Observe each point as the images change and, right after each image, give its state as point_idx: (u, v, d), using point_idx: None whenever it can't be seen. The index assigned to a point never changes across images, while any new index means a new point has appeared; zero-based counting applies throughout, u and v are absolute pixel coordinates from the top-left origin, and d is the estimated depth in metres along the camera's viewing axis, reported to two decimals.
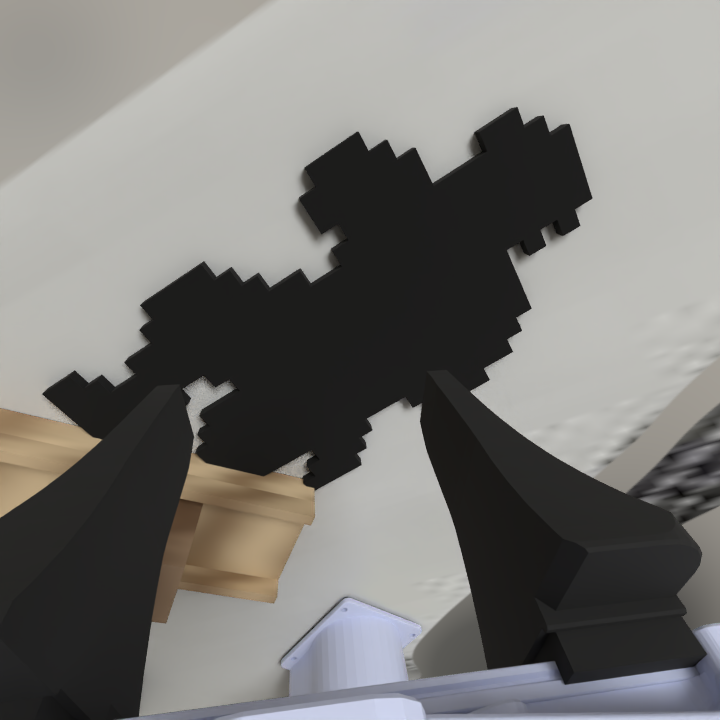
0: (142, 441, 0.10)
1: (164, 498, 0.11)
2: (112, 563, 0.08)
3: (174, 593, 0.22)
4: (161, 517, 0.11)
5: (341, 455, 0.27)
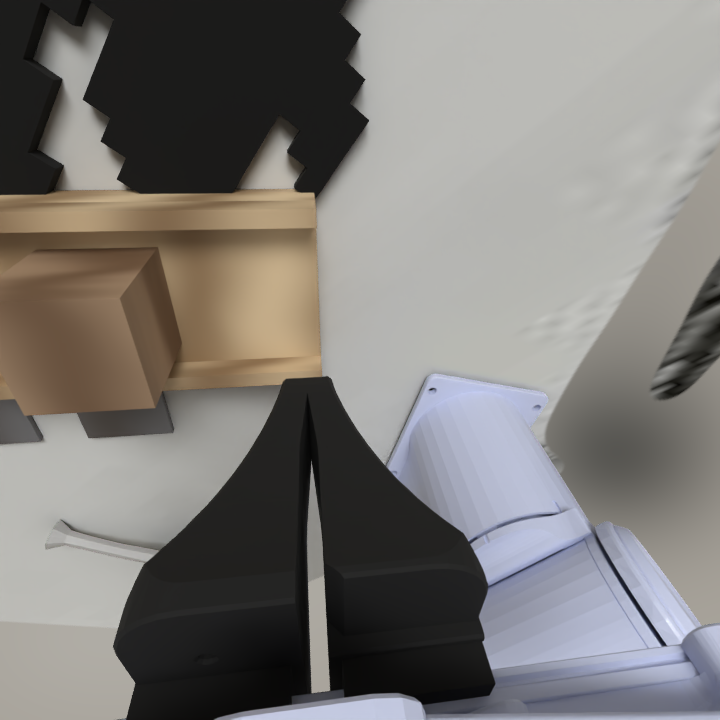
0: (302, 430, 0.10)
1: (306, 486, 0.11)
2: (302, 545, 0.08)
3: (134, 352, 0.15)
4: (306, 504, 0.11)
5: (330, 110, 0.16)
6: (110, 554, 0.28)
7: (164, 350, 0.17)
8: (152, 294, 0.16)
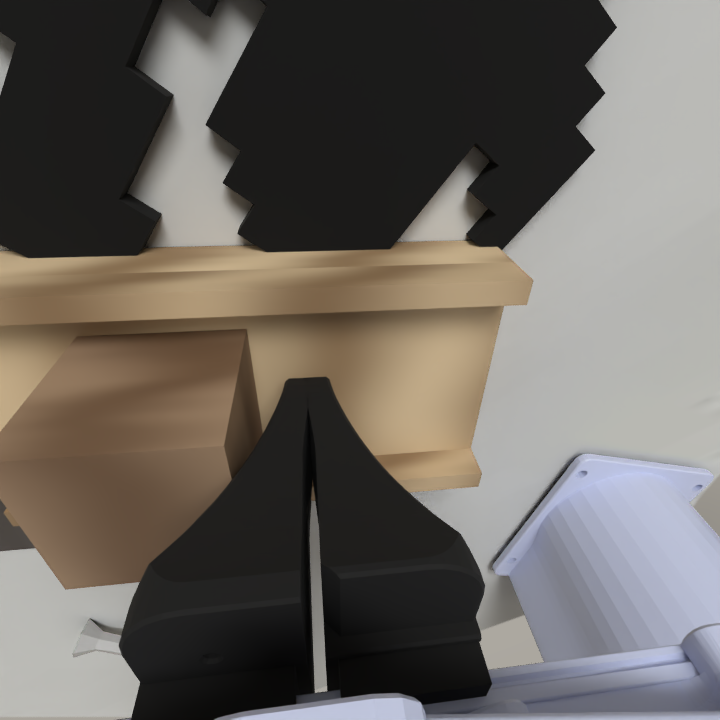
0: (305, 430, 0.10)
1: (309, 486, 0.11)
2: (306, 544, 0.08)
3: None
4: (308, 504, 0.11)
5: (546, 136, 0.11)
6: None
7: None
8: (245, 403, 0.11)
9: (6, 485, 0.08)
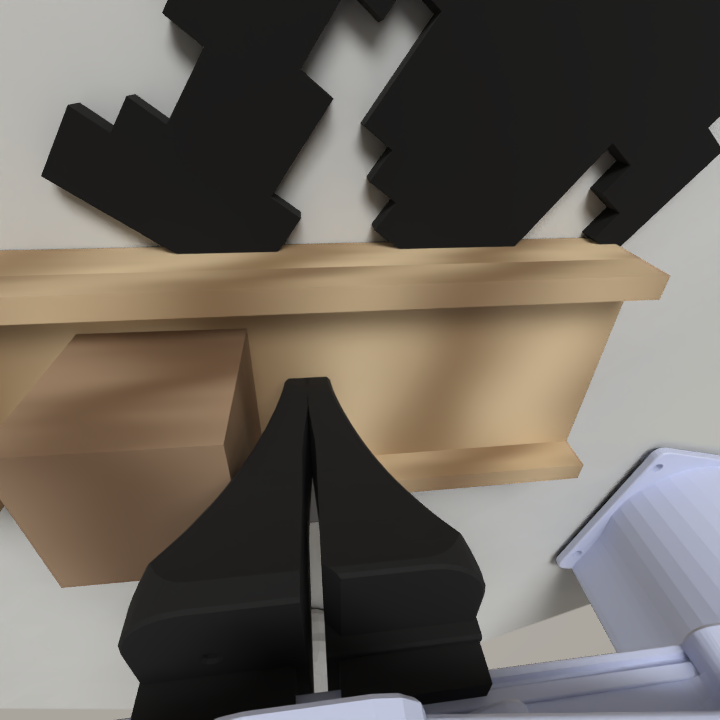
0: (304, 430, 0.10)
1: (309, 486, 0.11)
2: (305, 544, 0.08)
3: None
4: (308, 504, 0.11)
5: (679, 137, 0.12)
6: None
7: None
8: (244, 402, 0.11)
9: (3, 481, 0.08)
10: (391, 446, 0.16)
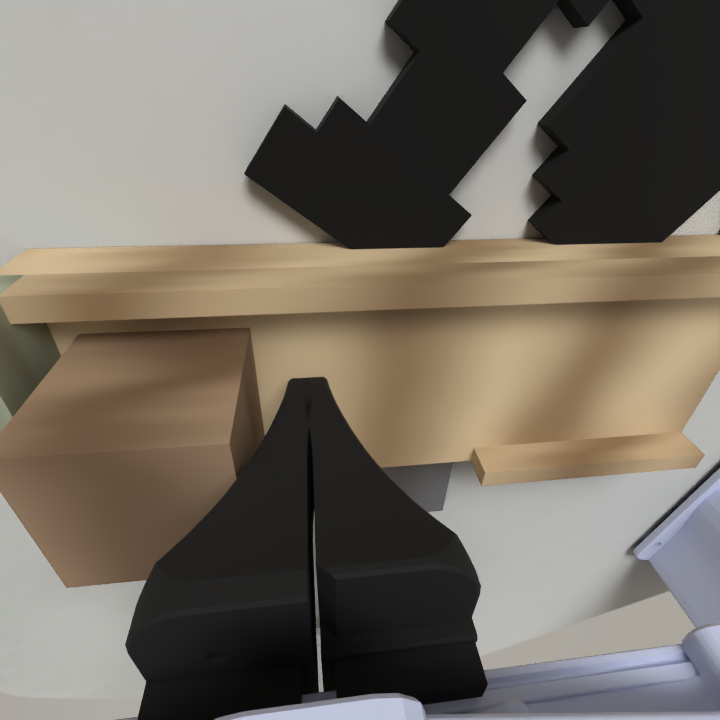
0: (308, 430, 0.10)
1: (312, 486, 0.11)
2: (310, 544, 0.08)
3: None
4: (312, 504, 0.11)
5: None
6: None
7: None
8: (248, 401, 0.11)
9: (9, 481, 0.08)
10: (519, 436, 0.16)
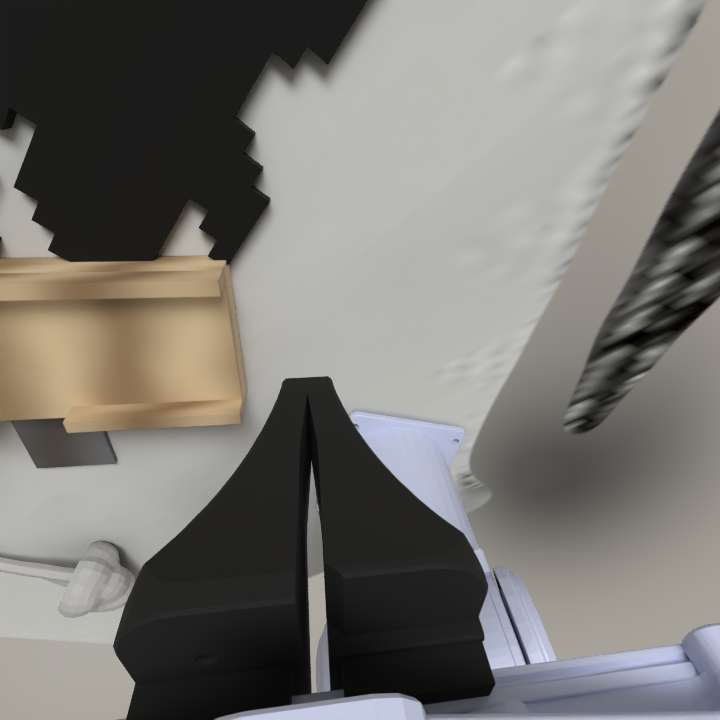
0: (302, 430, 0.10)
1: (306, 486, 0.11)
2: (302, 545, 0.08)
3: None
4: (306, 505, 0.11)
5: (233, 194, 0.19)
6: (6, 571, 0.29)
7: None
8: None
9: None
10: (105, 399, 0.22)
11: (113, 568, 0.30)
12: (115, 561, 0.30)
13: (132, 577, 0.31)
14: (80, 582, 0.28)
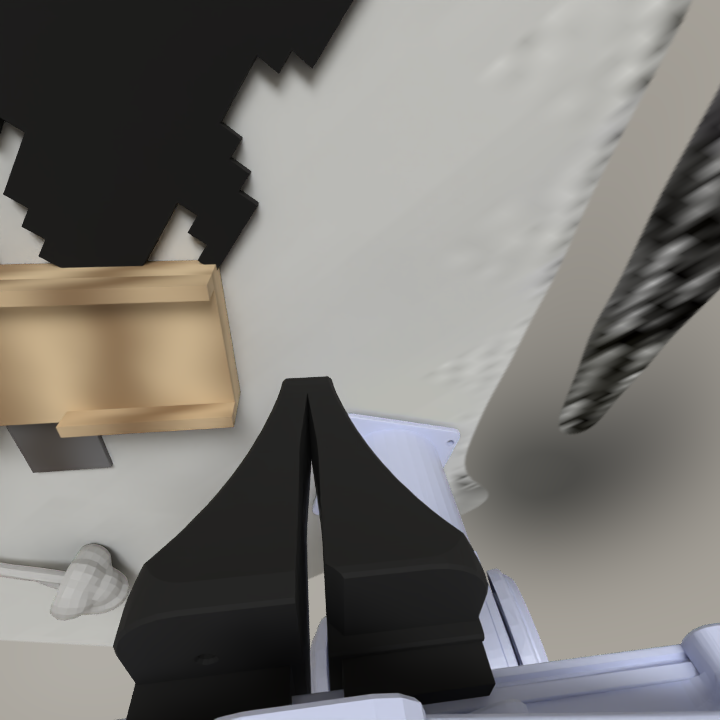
0: (302, 430, 0.10)
1: (306, 486, 0.11)
2: (302, 545, 0.08)
3: None
4: (305, 505, 0.11)
5: (221, 198, 0.19)
6: None
7: None
8: None
9: None
10: (98, 403, 0.22)
11: (105, 570, 0.30)
12: (106, 563, 0.30)
13: (125, 579, 0.31)
14: (71, 584, 0.28)
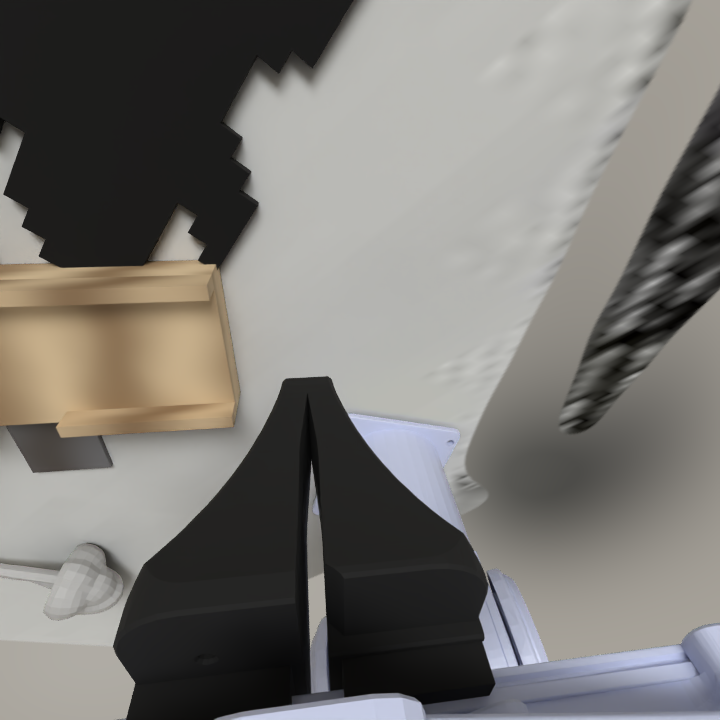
0: (302, 430, 0.10)
1: (306, 486, 0.11)
2: (302, 545, 0.08)
3: None
4: (305, 505, 0.11)
5: (222, 198, 0.19)
6: None
7: None
8: None
9: None
10: (98, 403, 0.22)
11: (99, 570, 0.30)
12: (100, 563, 0.30)
13: (119, 579, 0.31)
14: (64, 584, 0.28)
